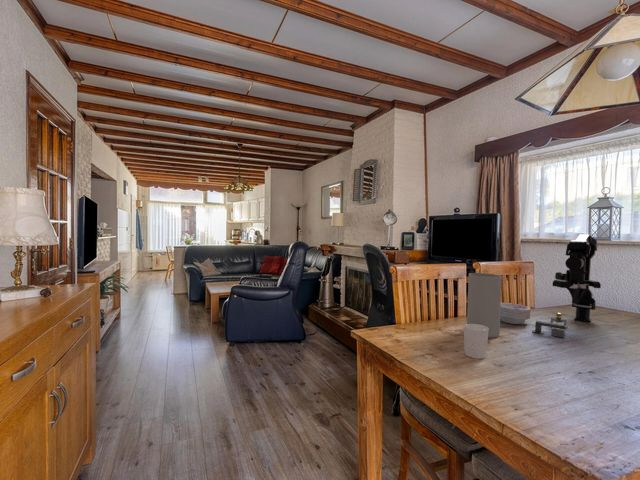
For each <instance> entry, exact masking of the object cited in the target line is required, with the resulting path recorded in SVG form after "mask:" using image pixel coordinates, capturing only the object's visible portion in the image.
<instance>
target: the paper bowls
mask: <svg viewBox="0 0 640 480" xmlns="http://www.w3.org/2000/svg"><path fill="white" fill-rule="evenodd" d="M500 319H501V321H502V323H503V322H504V323H507V324H511V325H523V324H525V322H526V320H530V319H531V307H529V306H526V305H522V304H517V303H510V302H501V309H500Z"/></svg>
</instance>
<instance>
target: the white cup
mask: <svg viewBox="0 0 640 480" xmlns="http://www.w3.org/2000/svg"><path fill="white" fill-rule="evenodd" d="M488 332H489V328H488V327H486V326H483V325H478V324H467V323H465V324H463V344H464V354H465V355H466V356H467V357H469V358H471V359H480V360H481V359H482V360H483V359H485V358H486V357H487V350H488V339H489V338H488Z"/></svg>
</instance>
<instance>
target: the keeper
mask: <svg viewBox="0 0 640 480" xmlns="http://www.w3.org/2000/svg"><path fill="white" fill-rule="evenodd" d="M542 326H543V327H546V328H547V327H548V328H552V327H553V328H559V329H564V330H566V329H567V328H566V326H567V324H566V325H560V324H554V323H551V322H546V321H541V320H540V321H539V320H536V321H535V327H534V329H533V330H532V331H531V333H532V334H537V335H544V334H545V331H543V330H542Z"/></svg>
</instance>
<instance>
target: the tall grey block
mask: <svg viewBox="0 0 640 480" xmlns="http://www.w3.org/2000/svg"><path fill="white" fill-rule="evenodd" d="M502 278H503V276H502V275H500V274H495V273H487V272H486V273H483V272H481V273H480V272H470V273H468V282H467V283H468V286H467V287H468V289H467V314H466V315H467V316H466V324H478V325H483V326H486V327H488V328H489V332H488V339H493V338H498V337H499V336H500V332H501V331H500V328H501V327H500V326H501V324H500V309H501V303H502V301H501V300H502V285H503V284H502V282H503V281H502V280H503V279H502Z"/></svg>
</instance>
